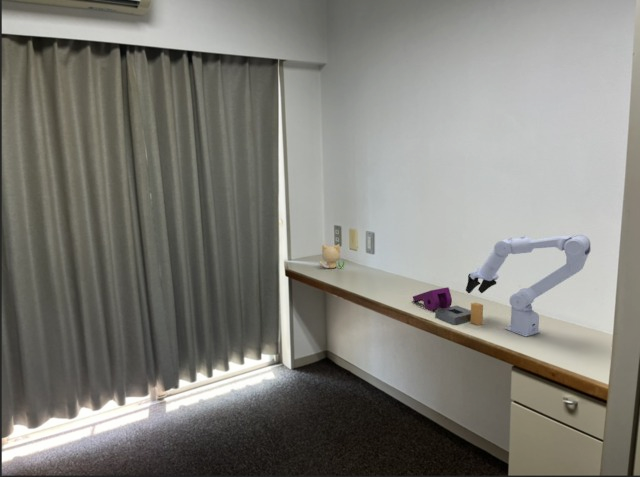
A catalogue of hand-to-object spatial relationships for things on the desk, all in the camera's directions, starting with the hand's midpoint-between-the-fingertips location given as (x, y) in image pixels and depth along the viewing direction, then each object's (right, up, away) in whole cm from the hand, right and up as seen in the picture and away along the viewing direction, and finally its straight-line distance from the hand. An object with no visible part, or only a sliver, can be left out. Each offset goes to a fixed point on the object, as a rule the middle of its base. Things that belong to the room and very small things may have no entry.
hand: (473, 291), depth 190 cm
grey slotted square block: (-6, -12, +4) cm, 14 cm away
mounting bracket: (-13, -9, +22) cm, 27 cm away
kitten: (-55, +3, +96) cm, 111 cm away
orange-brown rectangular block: (0, -13, -2) cm, 13 cm away
